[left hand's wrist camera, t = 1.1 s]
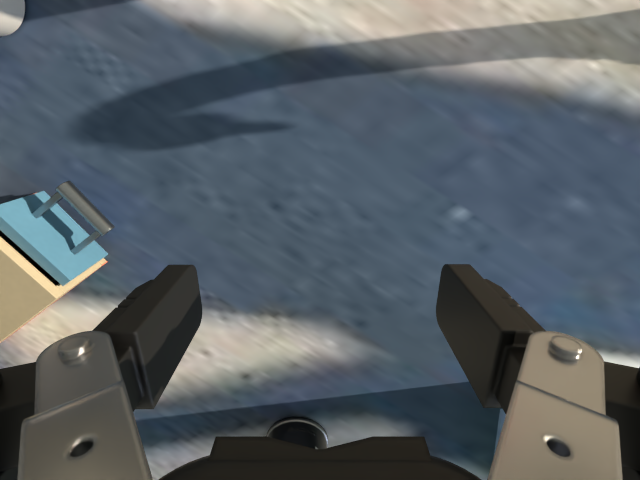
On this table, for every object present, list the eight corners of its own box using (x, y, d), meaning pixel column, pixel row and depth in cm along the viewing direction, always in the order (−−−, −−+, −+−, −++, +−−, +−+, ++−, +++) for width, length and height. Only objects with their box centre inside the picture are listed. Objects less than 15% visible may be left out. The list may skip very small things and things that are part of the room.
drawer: (77, 161, 36) (28, 172, 30) (141, 228, 38) (108, 251, 32) (-57, 278, 41) (-122, 308, 35) (8, 330, 44) (-42, 366, 38)
